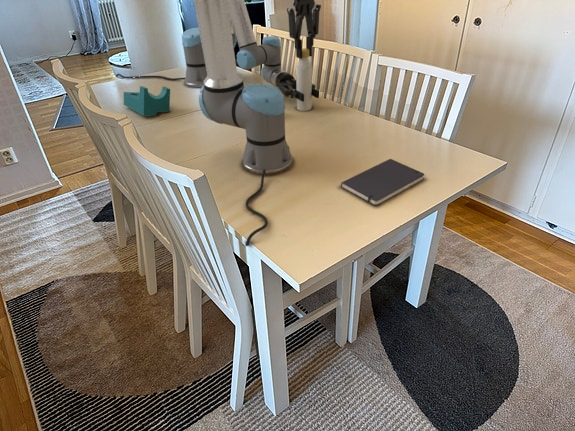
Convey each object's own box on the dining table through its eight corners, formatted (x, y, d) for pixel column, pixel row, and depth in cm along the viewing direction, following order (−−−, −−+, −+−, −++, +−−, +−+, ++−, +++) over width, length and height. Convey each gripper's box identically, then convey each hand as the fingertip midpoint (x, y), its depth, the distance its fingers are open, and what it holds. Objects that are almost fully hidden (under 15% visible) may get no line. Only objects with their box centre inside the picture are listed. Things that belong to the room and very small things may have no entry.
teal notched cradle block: (169, 115, 164) (170, 89, 159) (143, 115, 156) (144, 88, 152) (148, 104, 174) (148, 79, 170) (123, 104, 167) (123, 78, 163)
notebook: (389, 163, 124) (340, 187, 113) (390, 158, 123) (341, 182, 112) (424, 178, 116) (375, 206, 105) (425, 174, 115) (376, 201, 104)
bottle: (311, 105, 166) (312, 49, 153) (311, 110, 161) (311, 53, 148) (297, 105, 166) (296, 49, 153) (296, 110, 161) (295, 53, 148)
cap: (298, 55, 153) (297, 48, 152) (308, 54, 153) (308, 48, 152) (299, 58, 150) (299, 51, 148) (310, 57, 150) (310, 50, 149)
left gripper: (302, 85, 178) (331, 101, 162) (263, 93, 171) (289, 110, 155) (302, 68, 174) (331, 82, 157) (262, 75, 167) (288, 91, 150)
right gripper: (289, -12, 132) (291, 62, 145) (330, -16, 139) (328, 54, 153) (277, -14, 137) (279, 58, 150) (317, -18, 144) (316, 51, 158)
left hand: (310, 96), depth 156 cm, fingers closed on bottle, 6 cm apart
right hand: (304, 56), depth 152 cm, fingers closed on cap, 4 cm apart
